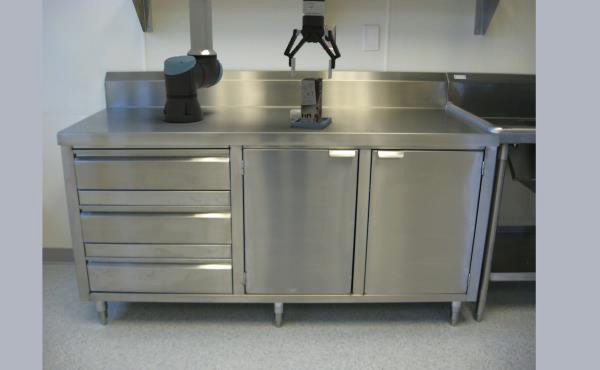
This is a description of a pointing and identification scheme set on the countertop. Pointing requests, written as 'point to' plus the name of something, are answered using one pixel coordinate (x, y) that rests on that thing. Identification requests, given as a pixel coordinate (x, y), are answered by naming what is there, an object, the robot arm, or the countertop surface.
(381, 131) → the countertop surface
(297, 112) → the white small block
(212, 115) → the countertop surface
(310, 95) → the coffee box
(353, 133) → the countertop surface
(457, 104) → the countertop surface
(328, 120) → the tray
